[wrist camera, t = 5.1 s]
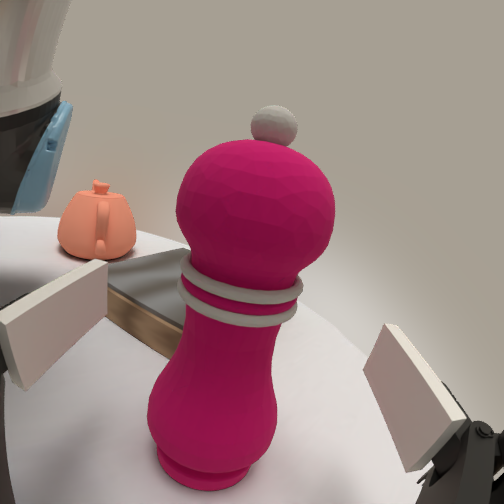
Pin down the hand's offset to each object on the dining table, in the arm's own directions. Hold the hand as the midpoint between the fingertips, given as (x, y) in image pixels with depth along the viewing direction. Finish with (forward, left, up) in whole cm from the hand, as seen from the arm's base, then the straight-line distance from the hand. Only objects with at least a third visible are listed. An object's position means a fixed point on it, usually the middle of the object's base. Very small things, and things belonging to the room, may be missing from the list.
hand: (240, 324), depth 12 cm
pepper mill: (0, 0, -11) cm, 11 cm away
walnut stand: (-13, +17, -11) cm, 24 cm away
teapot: (-39, +20, -11) cm, 45 cm away
